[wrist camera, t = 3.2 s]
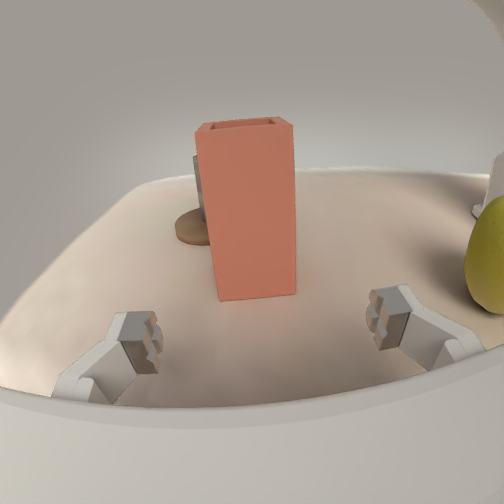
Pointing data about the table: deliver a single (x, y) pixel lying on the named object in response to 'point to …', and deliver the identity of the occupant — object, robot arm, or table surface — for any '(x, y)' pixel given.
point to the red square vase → (249, 205)
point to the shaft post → (194, 219)
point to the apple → (487, 258)
